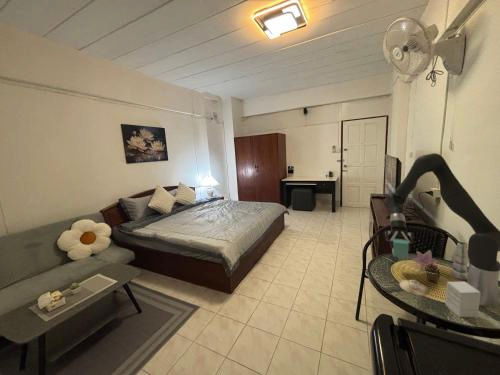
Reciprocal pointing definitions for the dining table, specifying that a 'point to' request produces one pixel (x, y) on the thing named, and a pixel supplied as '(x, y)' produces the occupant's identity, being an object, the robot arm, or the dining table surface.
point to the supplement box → (463, 299)
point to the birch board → (421, 290)
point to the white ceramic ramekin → (414, 284)
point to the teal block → (400, 248)
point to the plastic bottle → (460, 261)
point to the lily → (424, 259)
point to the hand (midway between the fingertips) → (400, 249)
